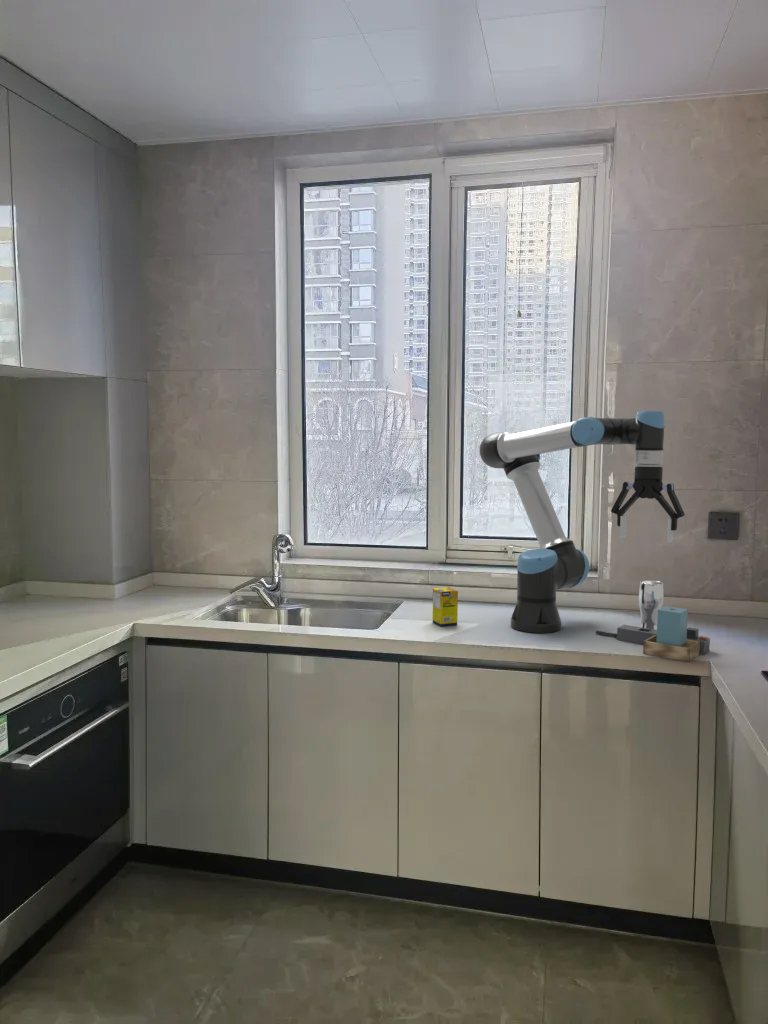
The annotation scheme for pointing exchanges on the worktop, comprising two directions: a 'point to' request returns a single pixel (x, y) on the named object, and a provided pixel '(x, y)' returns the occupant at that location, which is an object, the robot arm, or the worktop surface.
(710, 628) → the worktop surface
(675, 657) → the tray
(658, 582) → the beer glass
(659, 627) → the block
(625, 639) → the power strip
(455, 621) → the supplement box
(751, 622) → the worktop surface
